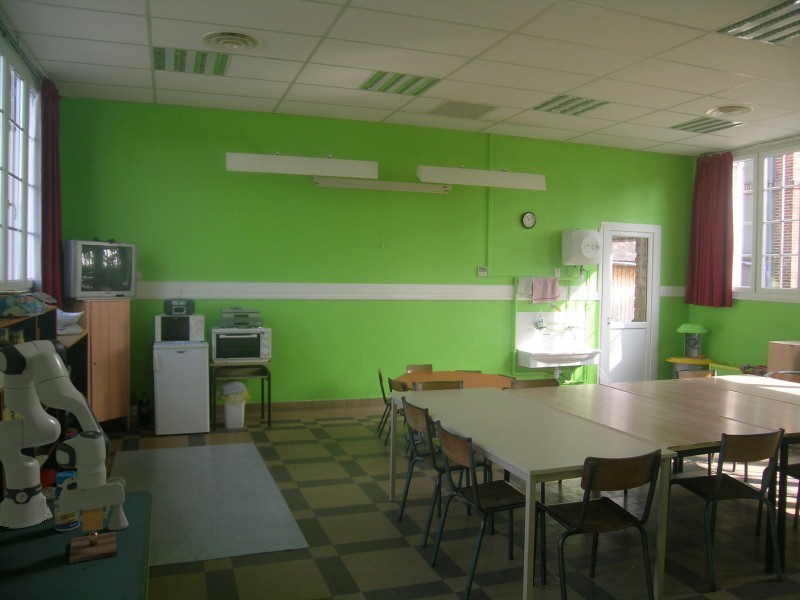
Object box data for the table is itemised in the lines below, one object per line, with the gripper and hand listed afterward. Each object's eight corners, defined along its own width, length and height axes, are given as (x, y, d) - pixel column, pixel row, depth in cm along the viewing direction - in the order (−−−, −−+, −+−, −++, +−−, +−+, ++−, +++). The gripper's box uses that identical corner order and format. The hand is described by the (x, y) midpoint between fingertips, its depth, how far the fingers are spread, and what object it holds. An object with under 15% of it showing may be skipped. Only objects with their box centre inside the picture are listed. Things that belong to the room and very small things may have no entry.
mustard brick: (83, 525, 220) (83, 507, 220) (102, 522, 223) (102, 505, 223) (82, 531, 215) (82, 513, 215) (102, 528, 217) (102, 511, 217)
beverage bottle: (85, 523, 242) (83, 470, 241) (71, 532, 234) (70, 477, 233) (63, 522, 243) (62, 469, 242) (49, 531, 234) (47, 476, 234)
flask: (128, 529, 236) (128, 502, 236) (107, 532, 233) (106, 505, 233) (129, 522, 243) (128, 496, 243) (108, 525, 240) (107, 498, 240)
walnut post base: (71, 542, 224) (71, 527, 224) (115, 535, 230) (115, 520, 230) (69, 563, 208) (68, 546, 208) (116, 555, 214) (116, 539, 214)
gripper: (125, 473, 225) (126, 512, 226) (58, 481, 217) (59, 522, 217) (125, 478, 220) (126, 518, 220) (57, 486, 211) (58, 528, 212)
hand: (92, 520), depth 219 cm, fingers closed on mustard brick, 6 cm apart
